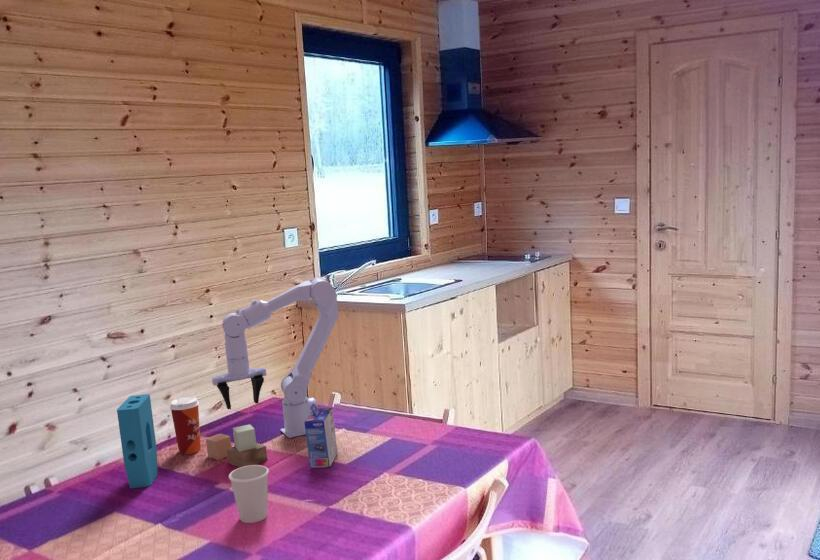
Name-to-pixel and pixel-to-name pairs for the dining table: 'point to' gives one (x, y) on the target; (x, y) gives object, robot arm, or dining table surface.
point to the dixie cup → (250, 492)
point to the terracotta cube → (218, 446)
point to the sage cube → (244, 438)
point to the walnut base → (247, 456)
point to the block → (138, 440)
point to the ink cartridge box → (321, 437)
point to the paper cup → (186, 424)
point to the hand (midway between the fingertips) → (242, 405)
